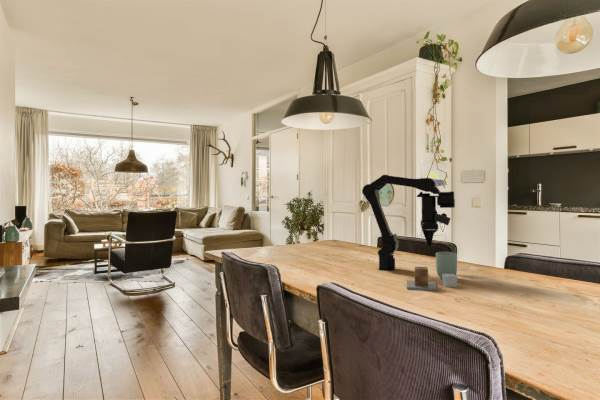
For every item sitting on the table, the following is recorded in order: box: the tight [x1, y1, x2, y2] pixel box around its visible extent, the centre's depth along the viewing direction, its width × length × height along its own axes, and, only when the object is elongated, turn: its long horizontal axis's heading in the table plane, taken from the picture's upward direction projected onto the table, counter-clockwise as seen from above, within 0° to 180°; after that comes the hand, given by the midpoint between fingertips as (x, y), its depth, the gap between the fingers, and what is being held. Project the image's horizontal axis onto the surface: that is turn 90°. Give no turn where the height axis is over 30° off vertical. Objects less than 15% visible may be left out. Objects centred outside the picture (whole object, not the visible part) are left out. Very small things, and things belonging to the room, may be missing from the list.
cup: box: [435, 251, 458, 279], centre depth 144 cm, size 8×8×10 cm
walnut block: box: [414, 266, 429, 286], centre depth 132 cm, size 4×4×6 cm
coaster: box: [406, 280, 438, 292], centre depth 133 cm, size 10×10×1 cm
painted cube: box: [441, 274, 458, 288], centre depth 133 cm, size 4×4×4 cm
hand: (429, 244), depth 155 cm, fingers open, 9 cm apart
